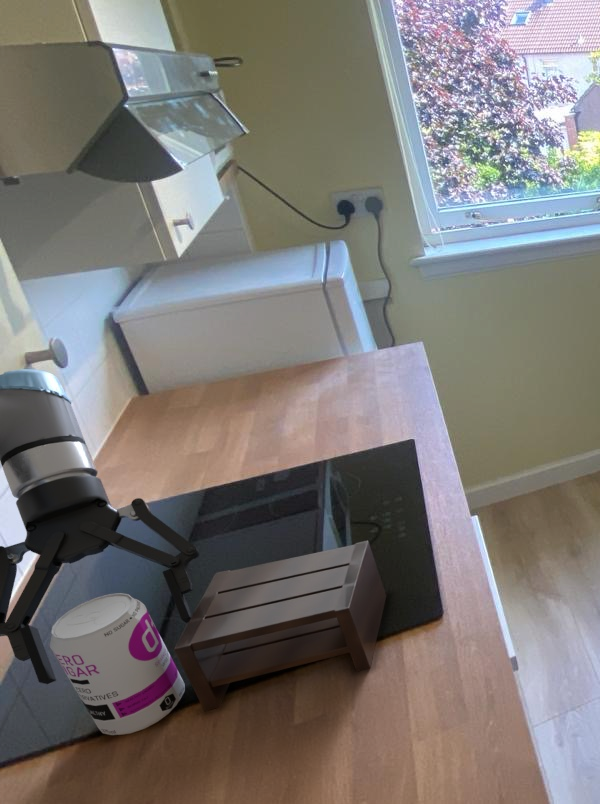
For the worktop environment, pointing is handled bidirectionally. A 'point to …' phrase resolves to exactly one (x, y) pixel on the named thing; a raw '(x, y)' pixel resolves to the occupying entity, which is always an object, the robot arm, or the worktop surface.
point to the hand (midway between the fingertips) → (121, 649)
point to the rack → (282, 618)
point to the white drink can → (117, 663)
